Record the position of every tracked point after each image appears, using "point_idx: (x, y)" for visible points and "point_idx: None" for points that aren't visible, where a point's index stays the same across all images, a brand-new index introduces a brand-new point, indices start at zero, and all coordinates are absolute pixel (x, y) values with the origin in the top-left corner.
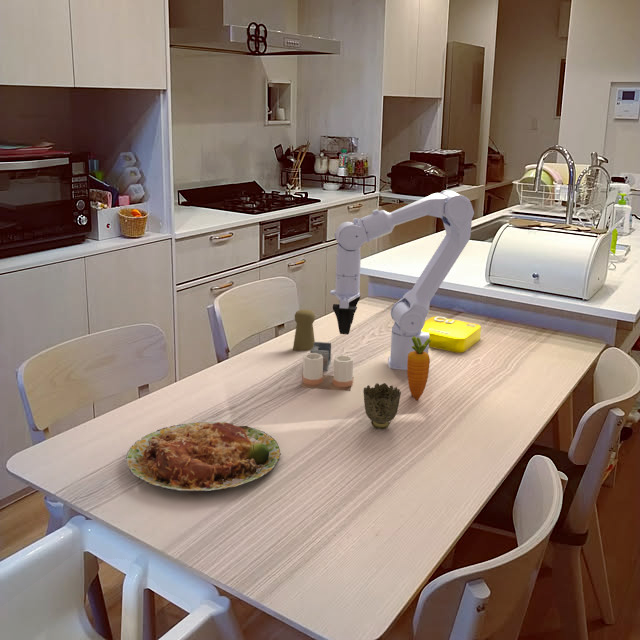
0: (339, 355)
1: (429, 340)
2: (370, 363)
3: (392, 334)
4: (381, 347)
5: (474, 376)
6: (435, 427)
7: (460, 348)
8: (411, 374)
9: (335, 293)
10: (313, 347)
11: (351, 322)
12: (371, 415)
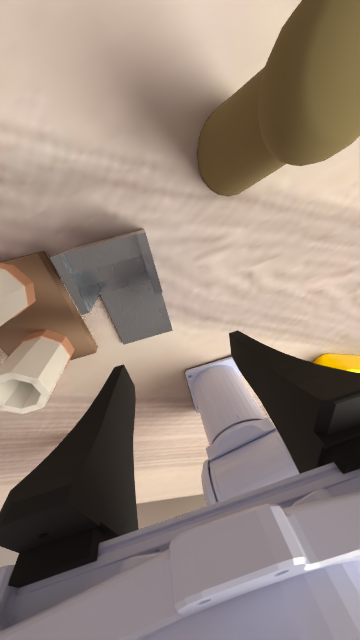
0: (29, 377)
1: None
2: (203, 336)
3: (225, 421)
4: (289, 323)
5: (205, 445)
6: (24, 471)
7: None
8: None
9: (145, 629)
10: (109, 244)
11: (234, 360)
12: None
